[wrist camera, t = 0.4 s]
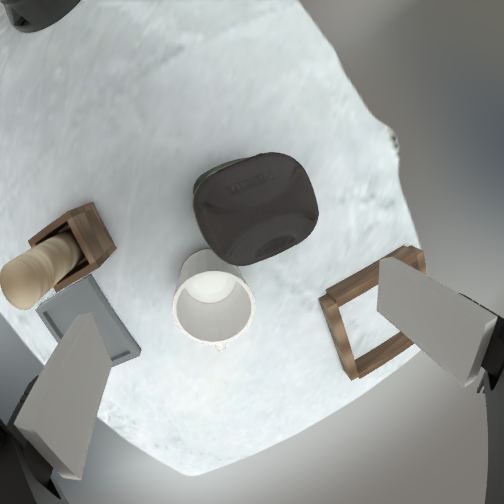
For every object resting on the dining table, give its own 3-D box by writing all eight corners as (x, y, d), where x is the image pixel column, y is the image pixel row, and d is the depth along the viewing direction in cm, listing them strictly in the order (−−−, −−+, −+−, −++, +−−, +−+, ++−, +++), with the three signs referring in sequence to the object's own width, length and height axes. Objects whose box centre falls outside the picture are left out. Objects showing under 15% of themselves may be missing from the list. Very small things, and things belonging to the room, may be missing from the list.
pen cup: (55, 227, 34) (27, 240, 26) (92, 202, 34) (69, 210, 27) (78, 270, 36) (56, 292, 29) (116, 248, 36) (98, 267, 29)
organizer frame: (316, 294, 44) (325, 304, 41) (409, 241, 45) (422, 246, 42) (344, 372, 50) (352, 383, 47) (421, 323, 51) (431, 330, 48)
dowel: (63, 232, 33) (-7, 274, 17) (86, 217, 34) (19, 252, 18) (78, 260, 35) (17, 316, 19) (101, 246, 35) (45, 299, 19)
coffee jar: (209, 234, 38) (221, 290, 21) (185, 179, 36) (174, 188, 18) (276, 205, 39) (339, 236, 21) (254, 151, 36) (305, 136, 19)
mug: (172, 250, 38) (164, 277, 28) (237, 240, 39) (251, 264, 30) (186, 321, 41) (185, 363, 32) (245, 312, 43) (260, 352, 33)
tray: (40, 304, 36) (35, 309, 34) (91, 274, 37) (87, 278, 35) (88, 371, 41) (85, 377, 39) (141, 349, 41) (139, 355, 40)
